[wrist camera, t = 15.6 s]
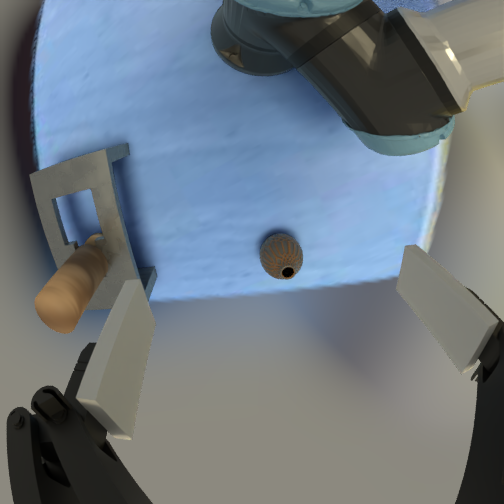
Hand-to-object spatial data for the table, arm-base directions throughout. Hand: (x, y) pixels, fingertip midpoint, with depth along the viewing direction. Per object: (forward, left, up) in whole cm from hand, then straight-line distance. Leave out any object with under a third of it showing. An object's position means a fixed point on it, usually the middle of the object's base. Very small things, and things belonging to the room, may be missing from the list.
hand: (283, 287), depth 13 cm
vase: (+14, +5, -32) cm, 35 cm away
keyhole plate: (+5, -24, -32) cm, 40 cm away
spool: (+8, -24, -27) cm, 37 cm away
